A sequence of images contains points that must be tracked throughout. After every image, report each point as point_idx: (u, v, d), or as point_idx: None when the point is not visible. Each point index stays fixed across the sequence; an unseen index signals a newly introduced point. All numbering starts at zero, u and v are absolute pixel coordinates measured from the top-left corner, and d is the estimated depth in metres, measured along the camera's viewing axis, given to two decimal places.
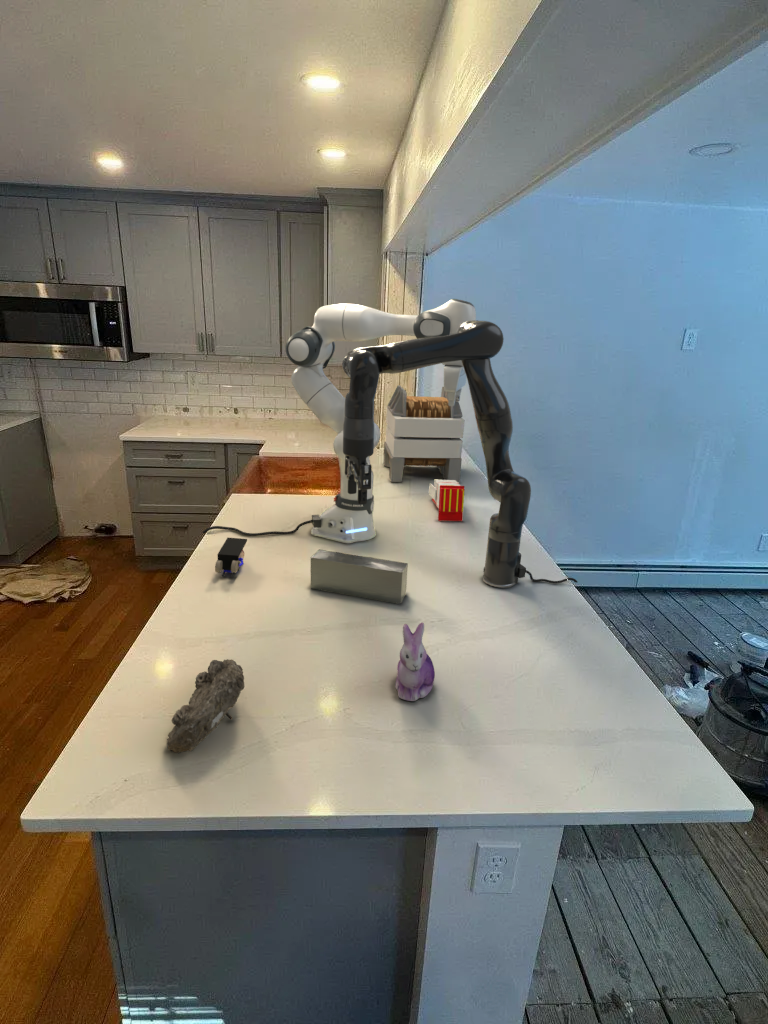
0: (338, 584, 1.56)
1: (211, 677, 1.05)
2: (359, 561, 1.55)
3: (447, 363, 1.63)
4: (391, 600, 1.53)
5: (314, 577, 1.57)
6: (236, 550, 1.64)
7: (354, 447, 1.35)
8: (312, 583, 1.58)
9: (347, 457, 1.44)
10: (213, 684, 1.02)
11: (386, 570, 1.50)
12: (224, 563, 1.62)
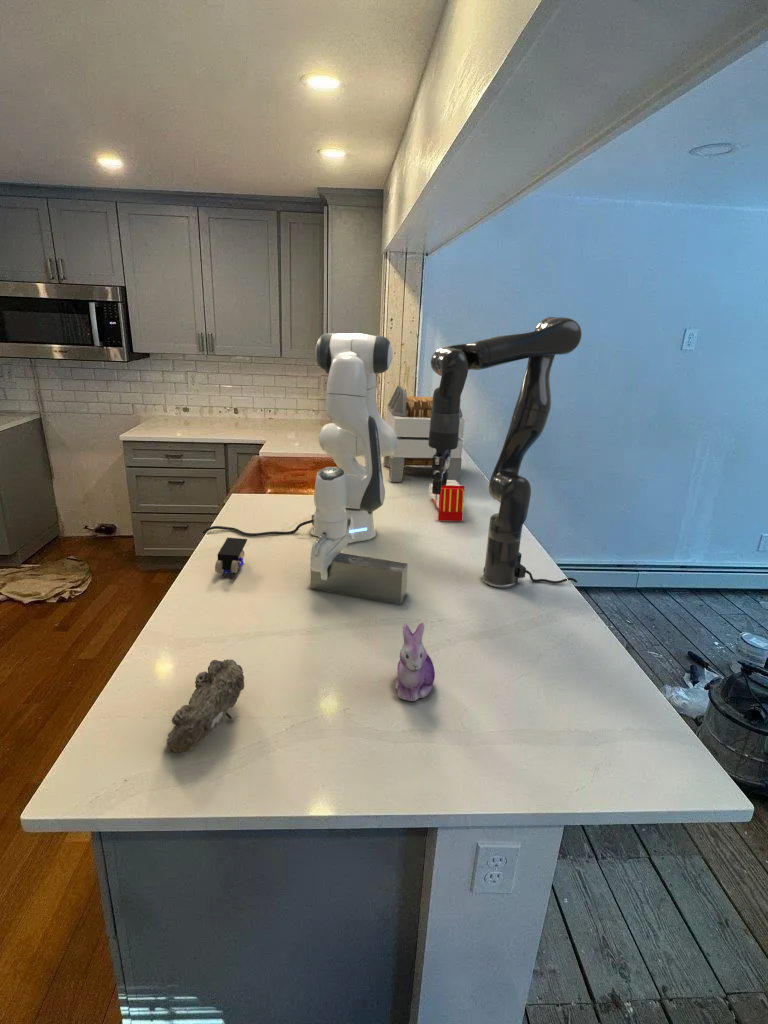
0: (338, 584, 1.56)
1: (211, 677, 1.05)
2: (359, 561, 1.55)
3: None
4: (391, 600, 1.53)
5: (314, 577, 1.57)
6: (236, 550, 1.64)
7: (433, 439, 1.43)
8: (312, 583, 1.58)
9: None
10: (213, 684, 1.02)
11: (386, 571, 1.50)
12: (224, 563, 1.62)
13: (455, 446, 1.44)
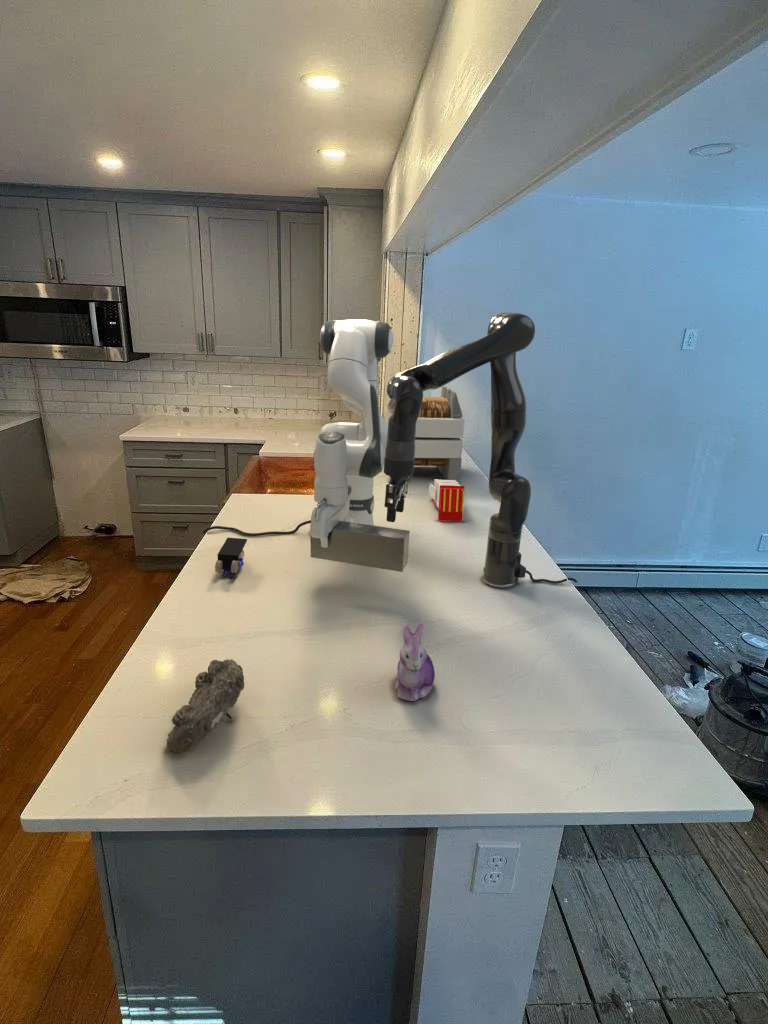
0: (338, 553, 1.53)
1: (211, 677, 1.05)
2: (360, 528, 1.51)
3: None
4: (393, 568, 1.50)
5: (314, 546, 1.54)
6: (236, 550, 1.64)
7: (388, 466, 1.42)
8: (312, 552, 1.55)
9: None
10: (213, 684, 1.02)
11: (387, 537, 1.47)
12: (224, 563, 1.62)
13: (410, 474, 1.42)
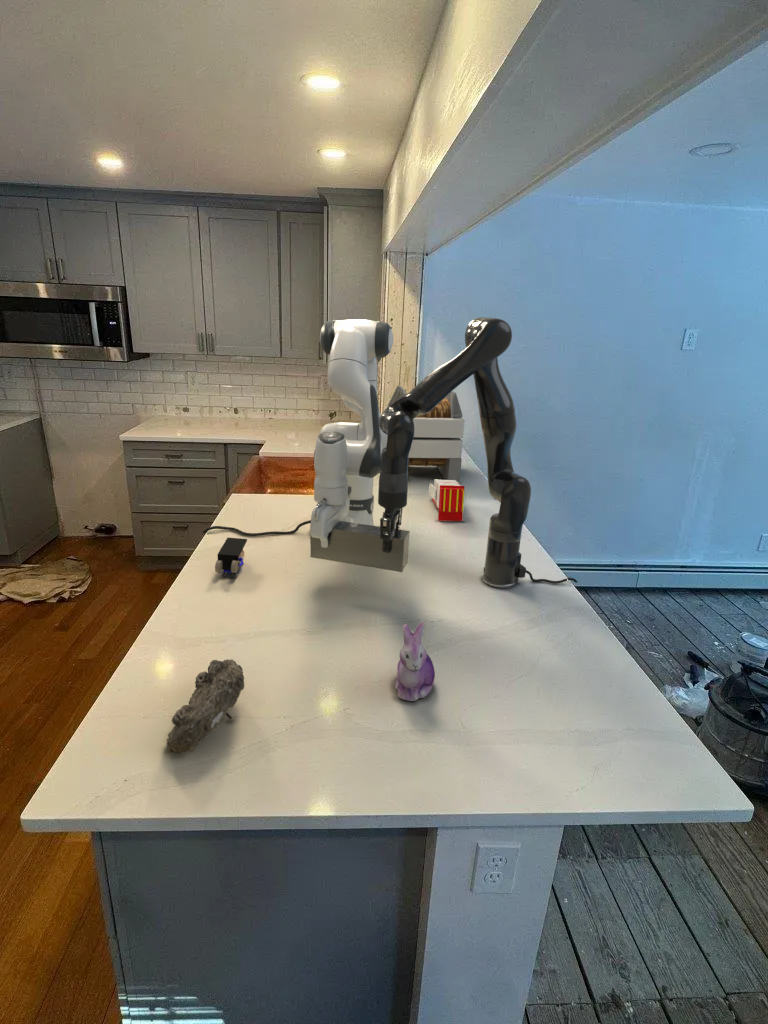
0: (338, 553, 1.53)
1: (211, 677, 1.05)
2: (360, 528, 1.51)
3: None
4: (393, 568, 1.50)
5: (314, 546, 1.54)
6: (236, 550, 1.64)
7: (382, 498, 1.44)
8: (312, 552, 1.55)
9: None
10: (213, 684, 1.02)
11: None
12: (224, 563, 1.62)
13: (404, 505, 1.45)
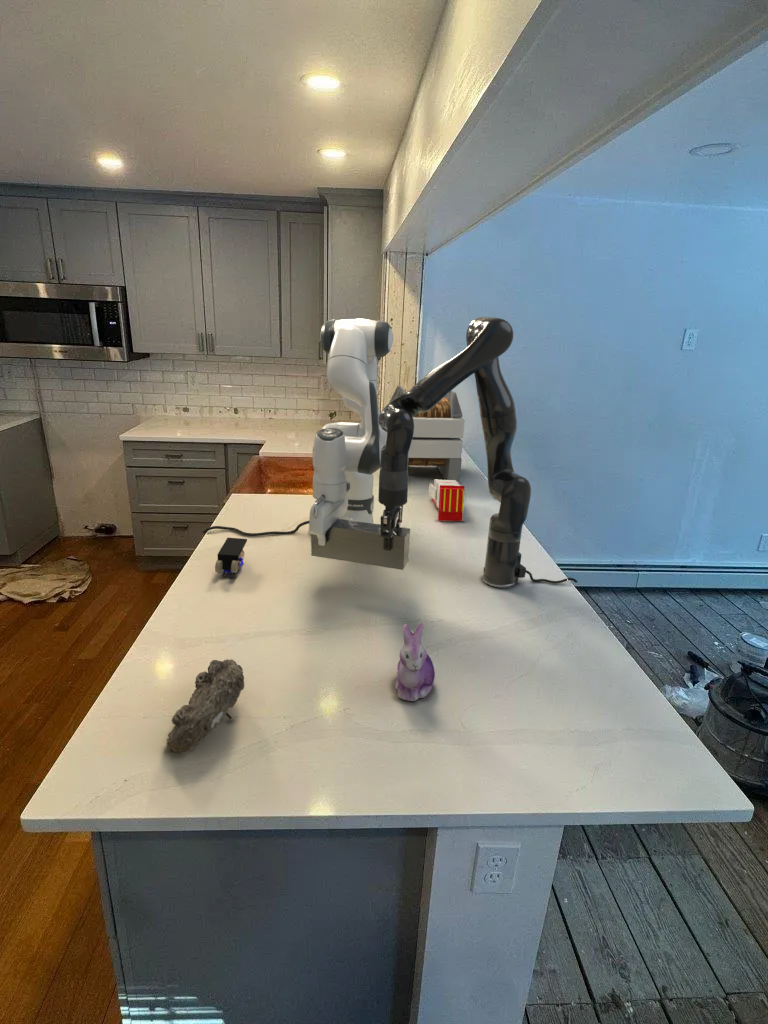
0: (339, 551, 1.52)
1: (211, 677, 1.05)
2: (360, 526, 1.51)
3: None
4: (394, 566, 1.49)
5: (315, 544, 1.54)
6: (236, 550, 1.64)
7: (382, 495, 1.44)
8: (313, 550, 1.55)
9: None
10: (213, 684, 1.02)
11: None
12: (224, 563, 1.62)
13: (404, 502, 1.45)
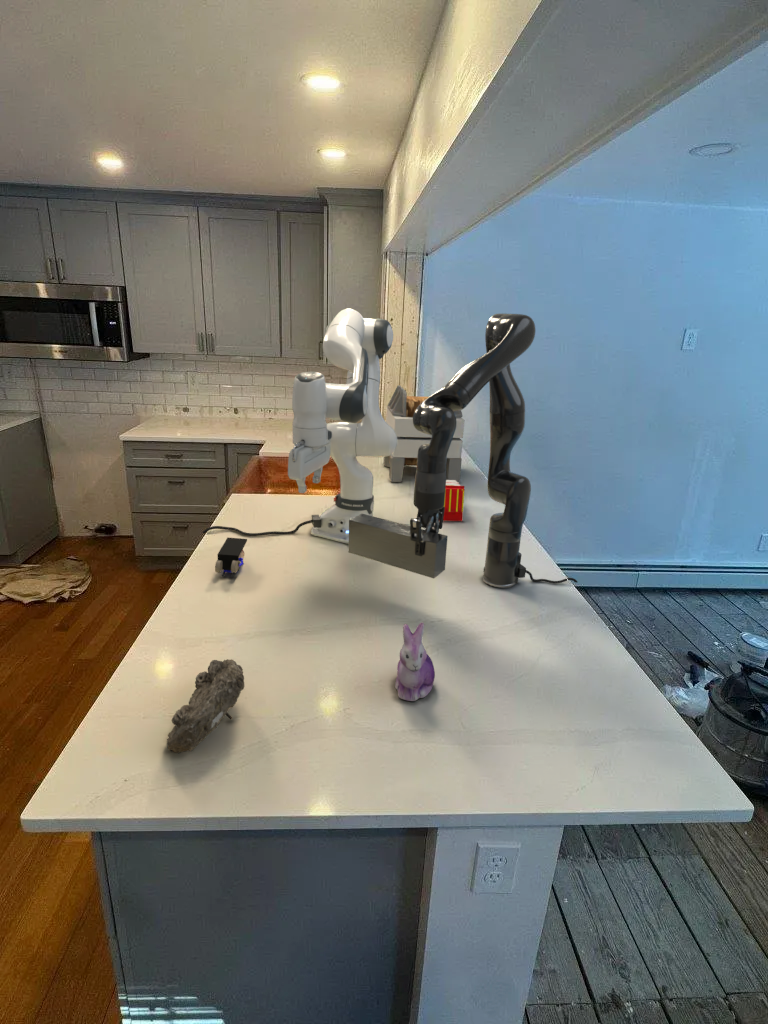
0: (374, 551, 1.48)
1: (211, 677, 1.05)
2: (396, 528, 1.45)
3: None
4: (425, 573, 1.41)
5: (352, 541, 1.51)
6: (236, 550, 1.64)
7: (415, 497, 1.37)
8: (350, 547, 1.52)
9: None
10: (213, 684, 1.02)
11: None
12: (224, 563, 1.62)
13: (438, 507, 1.36)
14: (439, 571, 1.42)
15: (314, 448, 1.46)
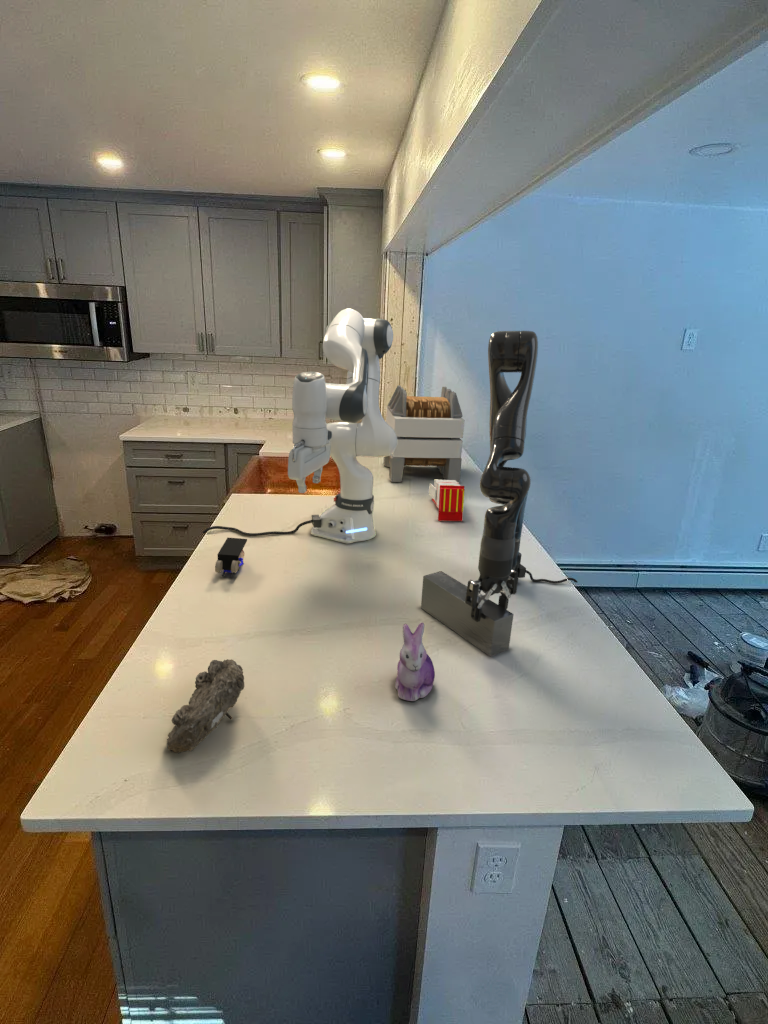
0: (441, 613, 1.44)
1: (211, 677, 1.05)
2: (464, 594, 1.39)
3: None
4: (483, 648, 1.33)
5: (424, 598, 1.49)
6: (236, 550, 1.64)
7: (479, 561, 1.29)
8: (422, 603, 1.50)
9: None
10: (213, 684, 1.02)
11: None
12: (224, 563, 1.62)
13: (501, 575, 1.26)
14: (499, 650, 1.32)
15: (314, 448, 1.46)
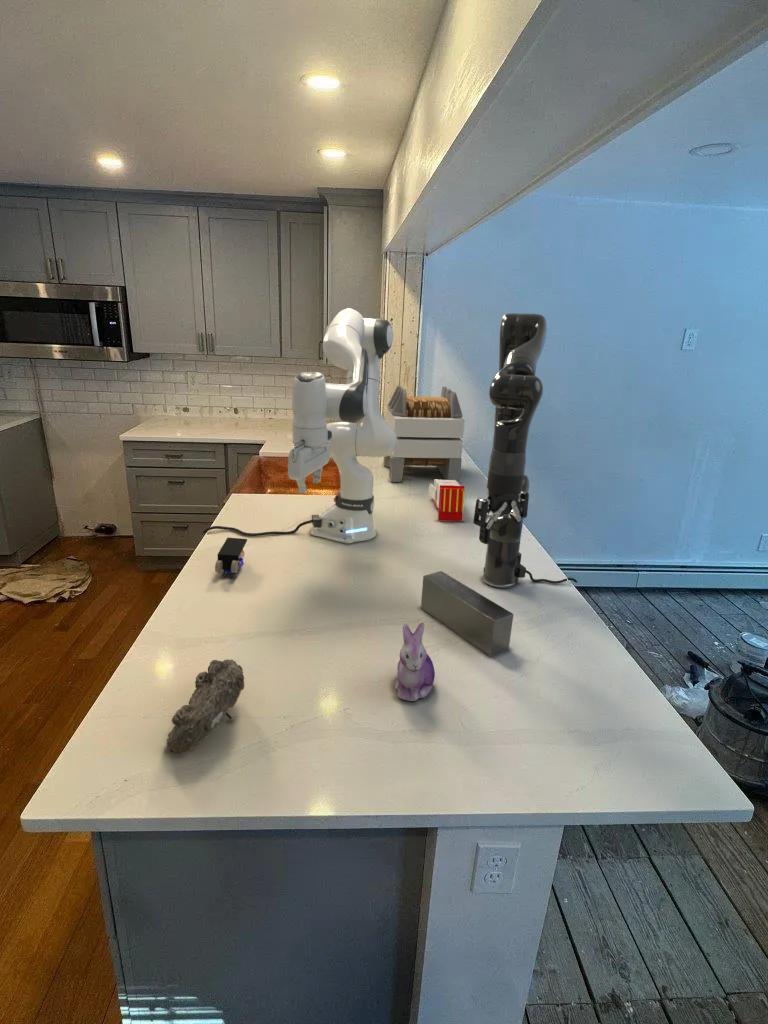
0: (441, 613, 1.44)
1: (211, 677, 1.05)
2: (464, 594, 1.39)
3: None
4: (483, 648, 1.33)
5: (424, 598, 1.49)
6: (236, 550, 1.64)
7: (488, 479, 1.22)
8: (422, 603, 1.50)
9: None
10: (213, 684, 1.02)
11: (480, 613, 1.31)
12: (224, 563, 1.62)
13: (511, 492, 1.19)
14: (499, 650, 1.32)
15: (314, 448, 1.46)
